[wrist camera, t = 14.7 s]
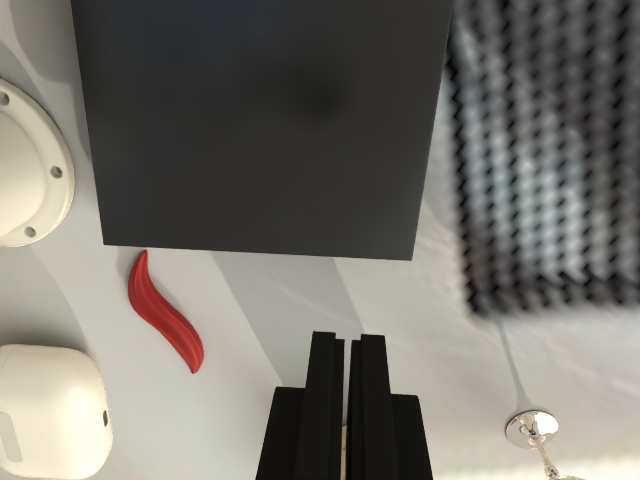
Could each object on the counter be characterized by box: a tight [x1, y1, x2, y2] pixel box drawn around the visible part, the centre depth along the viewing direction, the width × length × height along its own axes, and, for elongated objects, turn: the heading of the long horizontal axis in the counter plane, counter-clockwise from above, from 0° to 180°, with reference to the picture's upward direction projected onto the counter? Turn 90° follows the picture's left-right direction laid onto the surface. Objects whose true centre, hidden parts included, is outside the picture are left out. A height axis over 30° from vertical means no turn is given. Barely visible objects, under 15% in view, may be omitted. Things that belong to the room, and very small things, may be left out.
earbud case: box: [0, 344, 113, 480], centre depth 40 cm, size 10×13×5 cm
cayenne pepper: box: [128, 250, 204, 374], centre depth 38 cm, size 12×5×2 cm, turn 7°
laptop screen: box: [71, 0, 454, 261], centre depth 27 cm, size 21×30×1 cm
